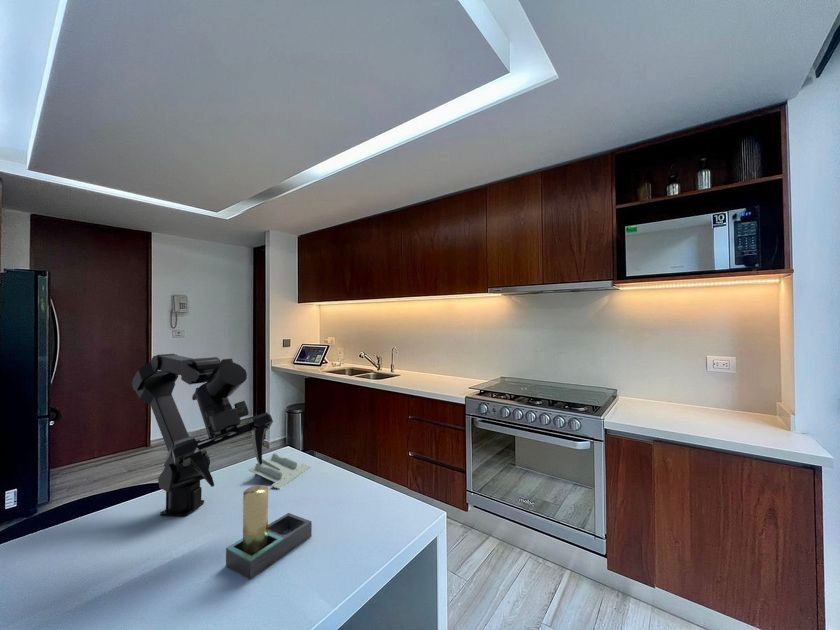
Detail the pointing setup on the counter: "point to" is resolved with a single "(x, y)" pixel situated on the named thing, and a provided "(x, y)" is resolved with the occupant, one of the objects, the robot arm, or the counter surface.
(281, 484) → the metal bracket
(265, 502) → the brass post
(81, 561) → the counter surface
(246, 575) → the hole rail
